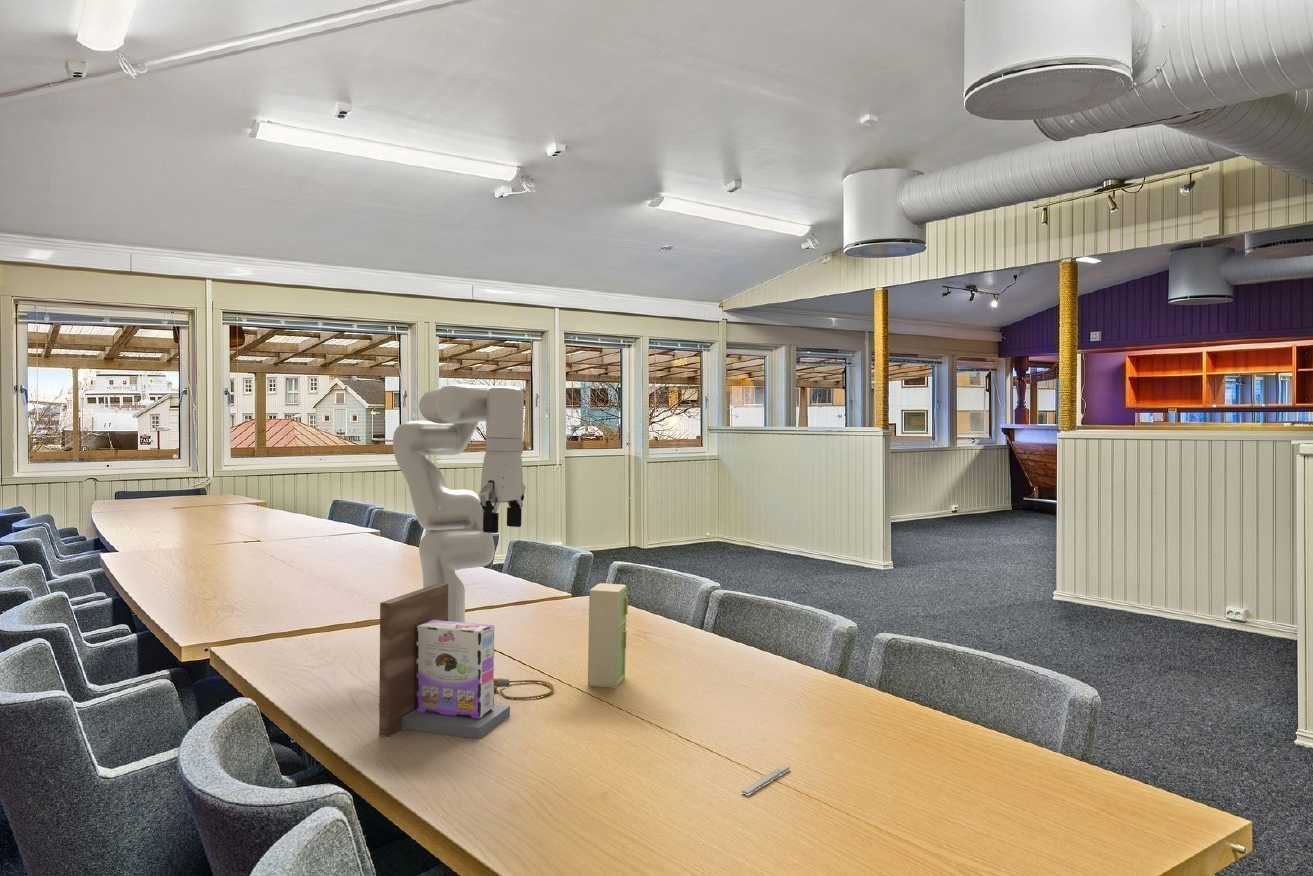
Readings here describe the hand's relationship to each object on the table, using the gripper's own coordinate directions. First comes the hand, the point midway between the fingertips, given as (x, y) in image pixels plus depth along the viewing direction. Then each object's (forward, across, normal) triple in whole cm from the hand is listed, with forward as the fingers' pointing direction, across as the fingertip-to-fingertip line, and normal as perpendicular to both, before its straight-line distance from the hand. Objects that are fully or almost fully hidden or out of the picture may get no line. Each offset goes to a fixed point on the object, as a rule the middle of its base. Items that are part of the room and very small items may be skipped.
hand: (502, 529), depth 167 cm
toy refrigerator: (+35, -17, +18) cm, 43 cm away
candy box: (+33, +16, -1) cm, 36 cm away
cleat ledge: (+35, +16, 0) cm, 38 cm away
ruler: (+34, +22, +60) cm, 72 cm away
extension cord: (+36, -5, +2) cm, 36 cm away
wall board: (+35, +16, -9) cm, 39 cm away
